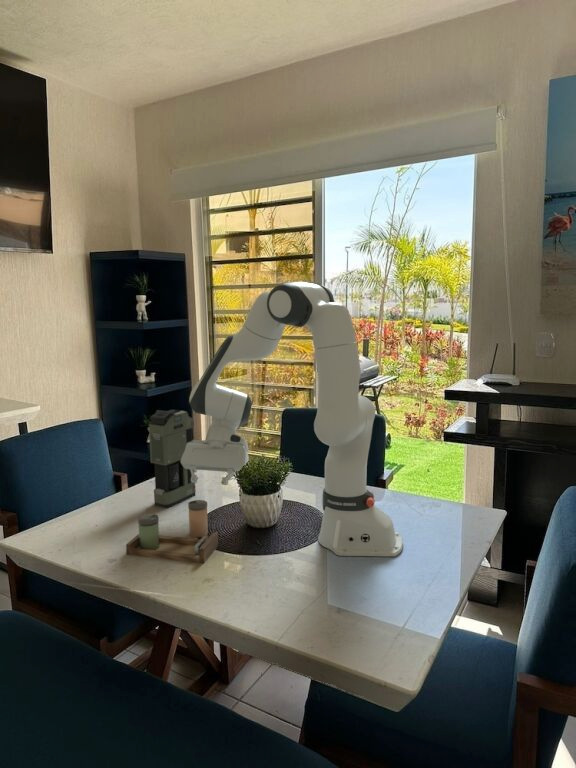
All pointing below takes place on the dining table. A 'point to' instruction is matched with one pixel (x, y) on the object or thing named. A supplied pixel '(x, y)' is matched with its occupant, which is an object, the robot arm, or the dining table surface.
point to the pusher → (200, 544)
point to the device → (170, 456)
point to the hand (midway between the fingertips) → (208, 483)
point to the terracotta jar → (198, 518)
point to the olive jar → (149, 532)
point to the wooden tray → (176, 548)
